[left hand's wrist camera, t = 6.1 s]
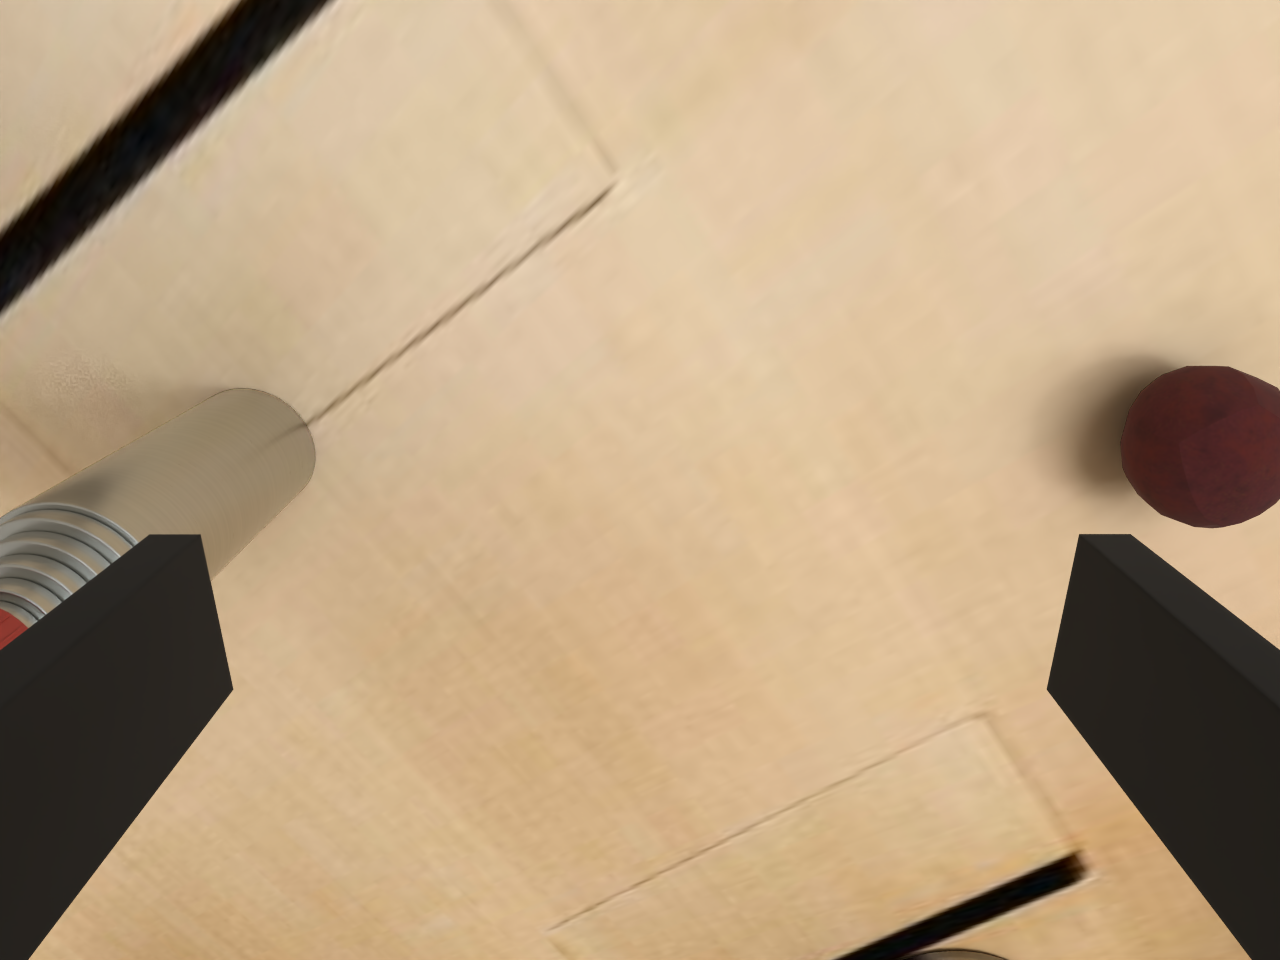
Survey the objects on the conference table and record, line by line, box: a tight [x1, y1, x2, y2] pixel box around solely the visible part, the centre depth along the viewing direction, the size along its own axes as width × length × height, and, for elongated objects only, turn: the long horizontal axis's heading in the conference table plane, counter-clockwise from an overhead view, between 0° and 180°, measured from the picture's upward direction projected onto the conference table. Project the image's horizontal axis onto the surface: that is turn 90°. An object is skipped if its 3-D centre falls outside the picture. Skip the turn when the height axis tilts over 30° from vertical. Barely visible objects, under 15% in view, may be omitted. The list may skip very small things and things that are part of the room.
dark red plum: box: [1120, 366, 1280, 528], centre depth 40 cm, size 7×8×7 cm
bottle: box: [0, 389, 315, 628], centre depth 34 cm, size 6×6×21 cm
